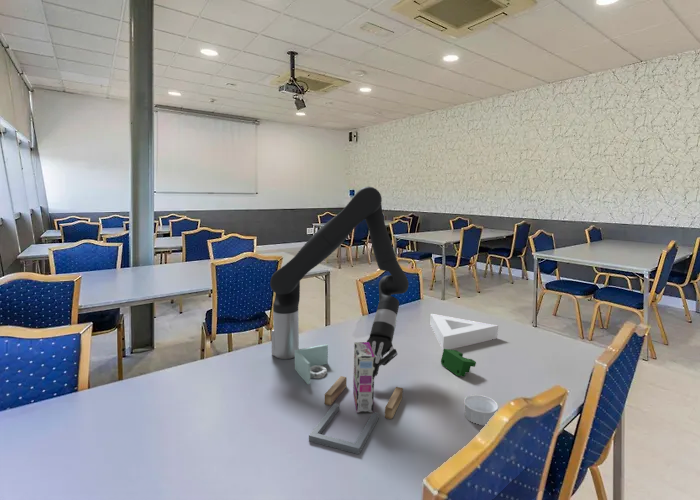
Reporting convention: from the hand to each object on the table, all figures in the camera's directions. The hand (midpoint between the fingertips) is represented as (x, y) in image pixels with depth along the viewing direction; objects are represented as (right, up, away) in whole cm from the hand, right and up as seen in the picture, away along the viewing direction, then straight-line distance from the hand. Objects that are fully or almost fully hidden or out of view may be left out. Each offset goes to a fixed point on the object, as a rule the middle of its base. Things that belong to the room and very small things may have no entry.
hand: (372, 376), depth 117 cm
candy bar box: (-3, -6, -7) cm, 9 cm away
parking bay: (-8, -7, -19) cm, 22 cm away
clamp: (+31, -3, +15) cm, 34 cm away
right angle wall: (-18, -3, +12) cm, 21 cm away
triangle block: (+36, 0, +42) cm, 56 cm away
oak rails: (-3, -5, -6) cm, 8 cm away
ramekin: (+29, -7, -14) cm, 33 cm away
